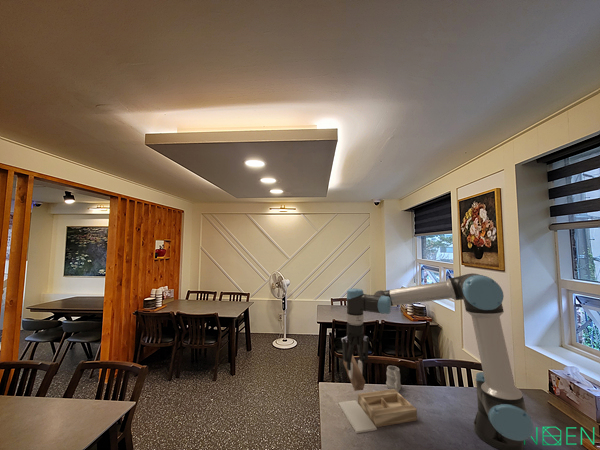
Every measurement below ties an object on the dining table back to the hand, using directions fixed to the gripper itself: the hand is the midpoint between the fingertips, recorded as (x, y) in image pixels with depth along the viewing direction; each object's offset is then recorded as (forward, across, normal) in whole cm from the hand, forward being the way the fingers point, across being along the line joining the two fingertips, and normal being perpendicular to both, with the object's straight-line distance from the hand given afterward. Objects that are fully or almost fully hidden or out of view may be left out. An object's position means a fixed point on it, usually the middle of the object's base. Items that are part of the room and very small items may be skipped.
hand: (355, 376), depth 108 cm
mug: (+17, +30, +15) cm, 37 cm away
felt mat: (+16, 0, 0) cm, 16 cm away
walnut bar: (+1, 0, +3) cm, 3 cm away
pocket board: (+16, +15, 0) cm, 22 cm away
